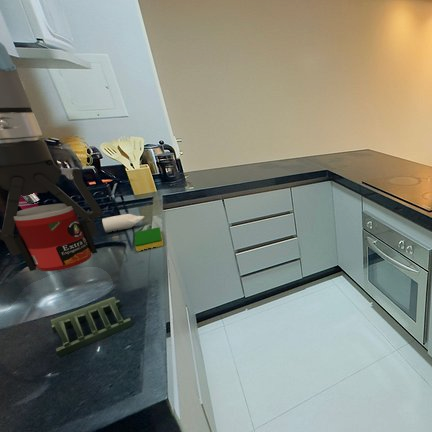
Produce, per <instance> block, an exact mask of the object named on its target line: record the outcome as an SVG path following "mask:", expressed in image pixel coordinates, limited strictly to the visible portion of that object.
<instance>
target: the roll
mask: <svg viewBox="0 0 432 432" xmlns="http://www.w3.org/2000/svg"><path fill="white" fill-rule="evenodd" d="M144 218H145V216H144V215H135V214H132V213H125V214H119V215H114V216H109V217H108V216H107V217H103V218H102V220H101V222H102V226H103V229H104V232H105V233H106V234H108V233H112V231H113V232H117V230H118V231H122V230H123V231H124V230H127V229H132V228H133V227H134V226H136V225H137V224H138V223H140V222H141V221H142V220H143V219H144Z"/></svg>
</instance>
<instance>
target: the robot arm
mask: <svg viewBox="0 0 432 432" xmlns="http://www.w3.org/2000/svg"><path fill="white" fill-rule="evenodd" d="M42 136H43V133H42V130H41V127H40V125H39V122H38V120H37V118H36V116H35V113H34V112H33V109H32V106H31V103H30V101H29V98H28V96H27V93H26V91H25V89H24V85H23V83H22V80H21V78H20V74H19V73H18V70H17V66H16V64H14V62H13V60H12V58H11V56H10V54H9V52H8V50H7V48H6V46H5V45H4V44H3V43H2V42H1V41H0V188H2V189H4V191H5V190H6V191H8V195H7V200H6V207H5V210H4V211H5V212H4V218H3V224H2V229H0V240H1V241H3V242H4V244H5V246H6V248H7V249H8V252H9V253H10V255H12V256H13V257H15V256H18V255H21V256H22V258H23V260H24V261H25V265H26V266H27V268H28V269H29V271H30V272H33V271H36V270H37V267H36V266H35V264H34V262H33V260H32V258H31V256H30V254H29V252H28V250H27V248H26V246H25V244H24V242H23V240H22V238H21V236H20V234H19V233H18V234H14V232H15V228H16V226H15V220H14V216H17V212H18V211H19V206H18V205H19V201H20V195H22V196H26V195H30V194H33V193H37V194H46V193H49V192H50V193H51V194H52V195H54V196H55V197H56V198H57V199H58V200H59V201H60V202H62V204H65V205H67V206H68V207H69V206H72V208H73V210H74V212H75V213H76V215H77V217H80V218H81V219H82V220H79V222H80V225H81V227H82V230H83V232H84V235H85V237H86V240H87V242H88V245H89V247H90V249H91V255H94V254H97V253H98V250H97V247H96V245H95V243H94V240H93V238H92V237H97V236H98V234H99V232H98V229H97V227H96V225H95V222H94V221H95V219H96V218H97V219H98V218H99V217H102V216H103V215H104V212H103V210H102V209H101V207H100V206H99V204H98V202H97V201H96V199H95V197H94V196H93V193H91V191H90V189H89V188H88V186H87V185H86V183H85V181H84V178H83V170H81V169H80V168H79V167H76V166H75V167H72V168H69V167H68V168H66V167H65V168H64V167H63V168H62V167H61V168H60V167H59V166H58V165H57V164H56V163H55V162H54V159H53V157H52V154H51V152H50V149H49V147H48V144H47V142H46V141H44V140H43V139H40V137H42ZM62 175H64V176H65V177H66V178H67V179H68V180H70V181H73V183H74V185H75V187H76V189H77V190H78V191H79V193H80V195H81V196H82V197H83V199H84V200H85V202H86V204H87V205H88V207H89V209H90V211H89V212H87V211H86V210H85V209H84V208H82V207H81V205H79V204H78V203H77V202H76V201H75V200H73V198H71V197H70V196H69V195H67V193H65V192H64V191H63V190H62V189H61V188H60V187H59V186H58V185H57V182H58V181H59V179H60V177H61V176H62Z"/></svg>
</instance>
